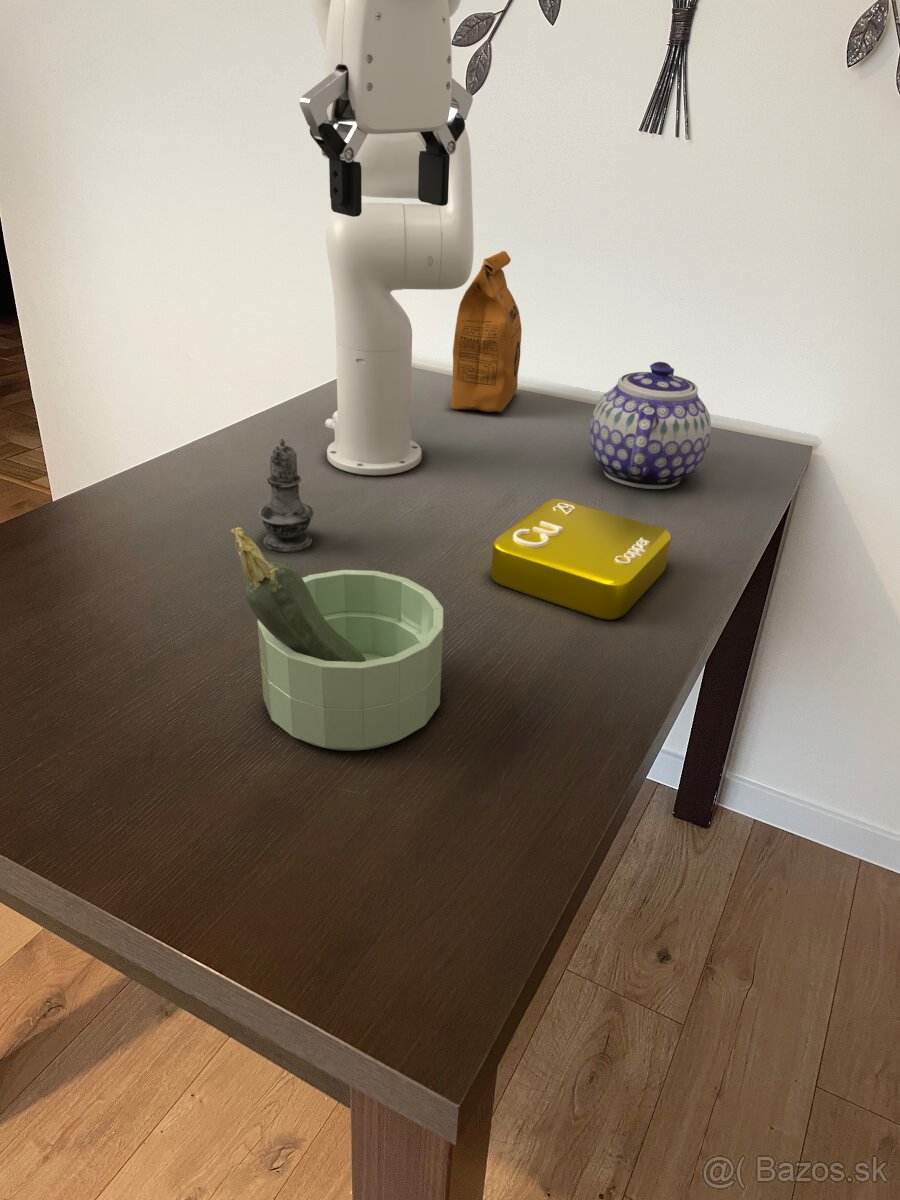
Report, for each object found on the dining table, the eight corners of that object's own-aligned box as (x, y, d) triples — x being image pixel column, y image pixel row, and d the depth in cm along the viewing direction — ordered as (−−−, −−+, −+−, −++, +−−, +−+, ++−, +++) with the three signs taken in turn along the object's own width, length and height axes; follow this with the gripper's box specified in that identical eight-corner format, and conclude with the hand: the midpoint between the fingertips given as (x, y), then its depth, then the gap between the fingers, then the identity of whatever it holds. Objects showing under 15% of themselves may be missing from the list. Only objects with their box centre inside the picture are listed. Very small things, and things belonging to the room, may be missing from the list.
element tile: (616, 626, 89) (623, 583, 87) (483, 581, 96) (486, 540, 94) (670, 565, 101) (678, 526, 98) (548, 529, 107) (552, 491, 105)
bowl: (231, 695, 78) (222, 609, 73) (363, 632, 87) (362, 553, 82) (340, 783, 69) (338, 692, 65) (475, 703, 78) (480, 618, 74)
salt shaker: (324, 536, 103) (321, 435, 97) (295, 558, 99) (290, 453, 92) (280, 524, 105) (274, 424, 99) (250, 545, 101) (241, 442, 94)
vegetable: (371, 710, 76) (245, 567, 61) (326, 709, 77) (193, 569, 62) (384, 664, 78) (267, 515, 63) (340, 663, 80) (216, 518, 65)
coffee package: (526, 396, 148) (538, 252, 136) (503, 420, 138) (514, 267, 126) (468, 387, 151) (475, 245, 139) (441, 410, 141) (446, 259, 129)
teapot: (687, 523, 110) (711, 402, 102) (563, 499, 114) (576, 381, 106) (712, 451, 130) (733, 345, 123) (605, 433, 135) (619, 330, 127)
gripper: (441, -30, 76) (434, 193, 85) (267, -46, 66) (280, 211, 75) (508, -30, 72) (493, 206, 81) (332, -46, 61) (338, 226, 70)
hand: (391, 208), depth 78 cm, fingers open, 9 cm apart
